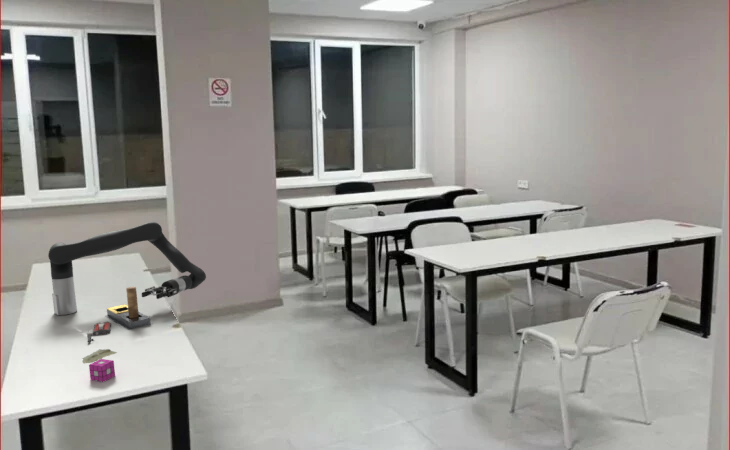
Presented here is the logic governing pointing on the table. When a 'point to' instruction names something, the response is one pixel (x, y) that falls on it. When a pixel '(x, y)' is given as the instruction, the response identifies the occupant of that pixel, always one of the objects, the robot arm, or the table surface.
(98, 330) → the walkie-talkie
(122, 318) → the socket rail
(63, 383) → the table surface
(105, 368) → the puzzle toy
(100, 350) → the topographic map
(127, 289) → the walnut peg
